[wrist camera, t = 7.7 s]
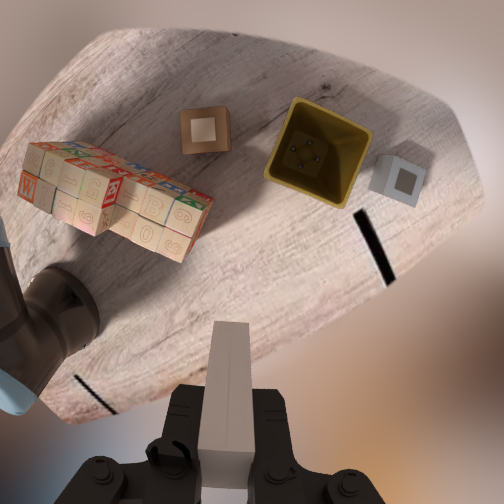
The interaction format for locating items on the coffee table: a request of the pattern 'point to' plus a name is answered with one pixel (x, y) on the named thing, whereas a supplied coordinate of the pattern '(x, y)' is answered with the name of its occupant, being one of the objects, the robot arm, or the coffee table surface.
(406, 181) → the grey cube marked
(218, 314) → the coffee table surface
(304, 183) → the flower pot
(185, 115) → the walnut cube marked
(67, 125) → the coffee table surface
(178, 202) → the stack of blocks
